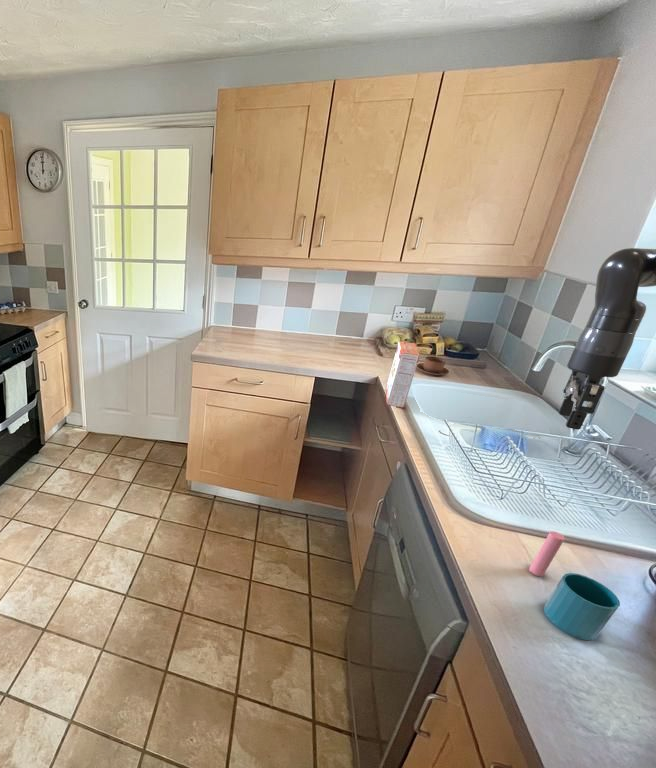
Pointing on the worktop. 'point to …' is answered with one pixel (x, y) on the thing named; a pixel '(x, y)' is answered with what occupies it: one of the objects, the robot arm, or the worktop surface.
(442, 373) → the cup and saucer
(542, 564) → the pink cylinder
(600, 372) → the robot arm
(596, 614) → the teal cup
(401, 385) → the cracker box
